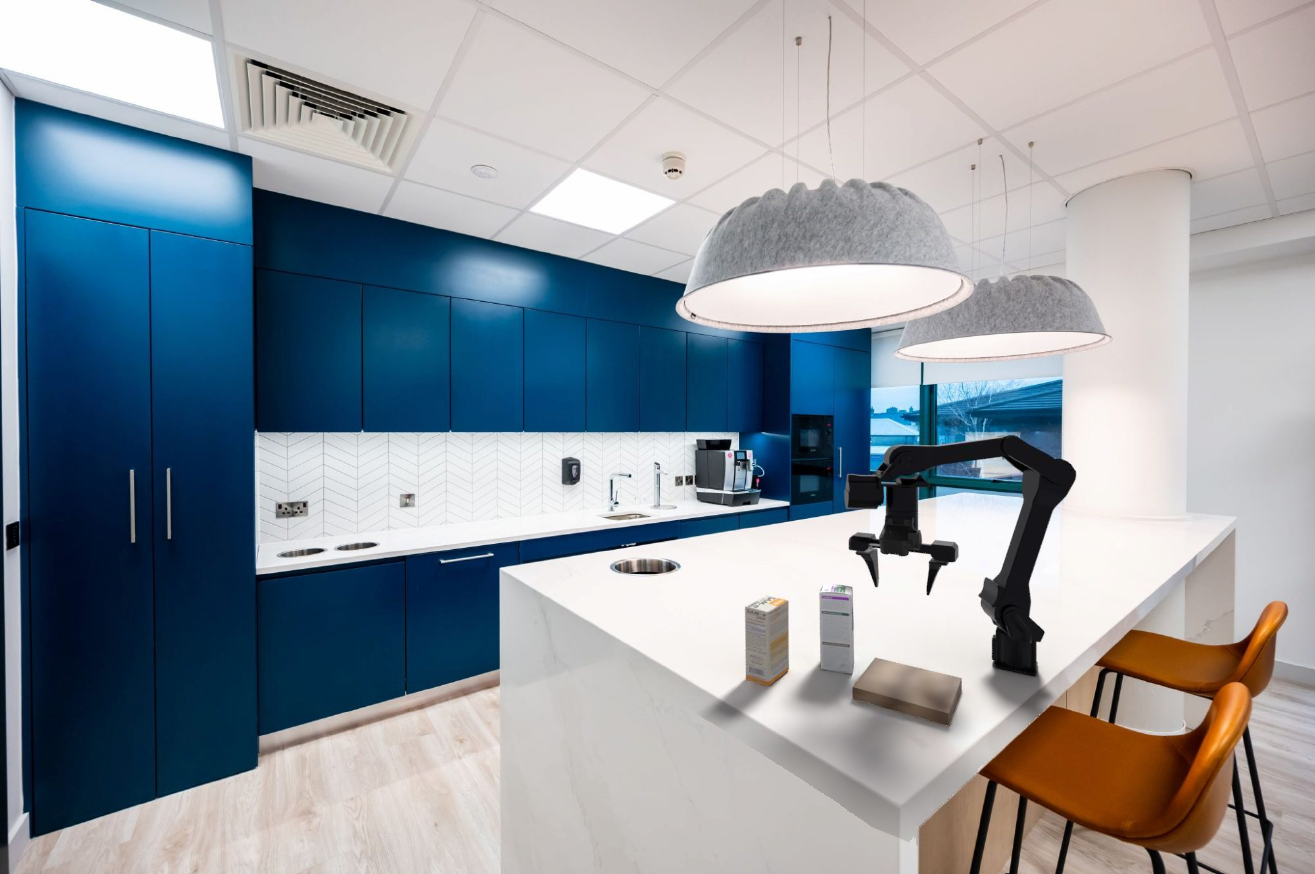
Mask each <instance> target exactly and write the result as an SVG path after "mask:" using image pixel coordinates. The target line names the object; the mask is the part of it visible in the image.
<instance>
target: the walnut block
mask: <svg viewBox="0 0 1315 874" xmlns="http://www.w3.org/2000/svg"><path fill="white" fill-rule="evenodd" d="M962 679H963V678H962V677H960V676H959V677H958V676H954V675H950V674H946V673H942V672H938V671H933V670H930V669H924V668H923V667H922V668H921V667H918V666H917V667H916V666H913V665H909V664H904V663H900V662H896V661H892V660H888V659H884V658H879V657H874V659H873V660H872V661H871V662H870V663H869V665H868V666H867V667H866V669H864V671H863V673H862V674H861V675H860V676H859V677H858V679H857V680H856V681H855V683H854V684H853V685H852V688H851V689H852V690H851V695H852V698H851V699H852V700H855V701H858V702H862V703H865V704H866V703H867V704H869V705H873V706H876V707H880V708H883V709H886V710H890V711H893V712H897V713H899V714H900V713H901V714H905V715H908V716H911V717H914V718H918V719H922V720H925V721H929V722H933V723H935V724H939V725H942V724H943V726H946V725H947V726H946V727H949V726H950V723H951V720H952V718H953V714H954V712H955V709H956V707H957V704H958V702H959V698H960V696H961V692H962V689H963V685H962V684H963V683H962V682H963V681H962Z"/></svg>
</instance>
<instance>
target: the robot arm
mask: <svg viewBox="0 0 1315 874" xmlns="http://www.w3.org/2000/svg"><path fill="white" fill-rule="evenodd" d="M882 458H883V461H882V463H881V464H879V466H878V468H877V469H876V470H875V472H873V474H872V475H871V474H867V475H866V474H855V473H847V474H846V481H845V489H844V490H843V491H844V493H843V494H844V504H845V505H844V506H845V509H846V510H850V509H851V510H878V508H879V506H880V507H881V506H882V505H884V502H885V516H884V524H883V527H882V530H881V531H880V534H879V536H878V538H877V537H876V534H875V533H869V532H859V531H858V532H856V533H854V534H852V535H851V536H850V537H849V539H848V550H849V551H853V552H854V551H855V555H856V556H861V558H862V559H863V561H864V562H865V564H866V567H867V569H868V572H869V575H870V576H871V580H872V582H873V586H874V587H875V588H878V587H879V584H880V583H879V582H880V581H879V580H880V573H879V569H880V568H879V554H878V553H879V552H878V549H879V551H880V554H883V555H894V556H895V555H896V556H898V557H907V556H909V554H910V553H917V554H922V555H923V554H925V555H930V557H931V558H930V560H929V561H928V570H927V571H928V573H927V578H926V579H927V581H926V586H925V587H926V596H930V595H931V593H932V589H933V587H934V584H935V581H936V578H937V576H938V573H939V571H940V570H941V568H942V567H946V566H948V565H949V563H956V561H958V558H959V550H960V549H959V545H958V544H957V543H956V542H955V541H948V540H939V539H935V540H934V541H933V542H932V543H923V537H922V531H921V529H919V488H930V487H931V484H930V483H929V482H928V481H927V480H926V479H925V478H924V477H923V476H922V474H920V473H922V472H925V471H926V472H927V471H929V470H930V469H934V468H936V467H940V466H943V465H944V466H945V465H949V464H958V463H959V464H960V463H965V462H972V461H974V462H975V461H981V460H987V459H997V458H1003V459H1004V460H1005V461H1007V462H1008V463H1009V464H1010V465H1011V467H1013V468H1015V469H1016V470H1018V471H1019V472H1021V473H1022V478H1021V490H1022V498H1023V499H1022V500H1023V501H1022V506H1021V508H1020V512H1019V514H1018V518H1017V520H1016V524H1015V527H1014V529H1013V533H1012V536H1011V539H1010V542H1009V545H1008V547H1007V552H1006V554H1005V557H1004V560H1003V563H1002V567H1001V569H1000V572H999V573H998V574H997V575H996V576H995V577H994V578H993V579H991V578H989V577H987V576H986V577H984V579H983V584H982V585H983V586H982V589H981V591H980V593H978V597H979V598H980V607H981V609H982V611H983V612H984V613H985V614H986V615H987V616H988V617H989V618H990V619H991V622H992V625H994V626H996V628H995V634H993V635H992V637H991V660H992V661H994V663H993V667H994V668H998V669H1002V670H1007V671H1011V672H1016V673H1021V674H1025V675H1029V674H1030V676H1034V677H1036V676H1035V675H1037V676H1038V666H1039V665H1038V661H1037V660H1038V659H1037V657H1038V651H1037V650H1038V644H1037V643H1041V642H1042V640H1043V638H1044V637H1045V636H1044V635H1045V633H1046V632H1045V630H1044V629H1043V628H1042V627H1041V626H1040V625H1039V624H1038V623H1036V621H1034V620H1033V618H1031V617H1030V614H1031V607H1032V597H1031V589H1030V581H1031V579H1032V575H1033V573H1034V569H1035V566H1036V563H1037V560H1038V558H1039V554H1040V552H1041V548H1042V545H1043V542H1044V539H1045V537H1046V533H1047V530H1048V527H1049V523H1050V521H1051V519H1052V516H1053V513H1054V510H1055V508H1056V507H1057V506H1058V505H1060V503H1062V501H1063V500H1065V499H1066V497H1067V495H1068V494H1069V493H1070V491H1071V489H1072V487H1073V485H1074V483H1075V482H1076V479H1077V471H1076V469H1075V468H1074V466H1073V464H1072V463H1071V462H1069V461H1068V460H1065V459H1063V458H1057V457H1053V456H1051V455H1050V454H1049V453H1047V452H1045V451H1043V450H1042V449H1039V448H1038V447H1035V446H1034V445H1032V444H1029V443H1028V442H1026V441H1025V440H1023V439H1022V438H1020V437H1019V436H1018V435H1014V434H999V435H997V436H995V437H986V438H979V439H972V440H966V441H958V442H950V443H943V444H937V445H936V444H935V445H923V444H922V445H921V444H894V445H892V446H890V447H888V448H887V449H886V451H884V455H883V457H882ZM913 475H914V476H913ZM901 476H903V477H901ZM904 476H906V477H904ZM908 476H913V477H908ZM895 480H896V481H895ZM894 481H895V482H894Z"/></svg>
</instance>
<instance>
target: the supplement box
mask: <svg viewBox="0 0 1315 874" xmlns="http://www.w3.org/2000/svg"><path fill="white" fill-rule="evenodd" d="M789 602H790V601H789V599H786V598H781V597H776V596H772V595H765V596H763V597H761V598H758V599H757V600H756V601H755V600H754V601H753V602H752V603H749V604H747V605H746V606H744V623H745V625H744V626H745V627H744V628H745V630H744V631H745V635H744V636H745V638H744V639H745V642H744V643H745V645H744V646H745V650H744V652H745V679H746V680H748V681H751V682H755V683H757V684H761V685H763V686H766V687H769V686H771V685H772V684H773V683H775V682H776V681H777V680H778V679H779V678H781V677H782V676H783V675H785V674H786V673H787V672H788V671H789V670H790V654H789V653H790V651H789V650H790V648H789V647H790V643H789V640H790V639H789V637H790V636H789V635H790V634H789V633H790V632H789V630H790V629H789V628H790V627H789V624H790V623H789V616H790V615H789V609H790V608H789V605H790V604H789Z"/></svg>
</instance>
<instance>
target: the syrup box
mask: <svg viewBox="0 0 1315 874" xmlns="http://www.w3.org/2000/svg"><path fill="white" fill-rule="evenodd" d="M853 589H854V588H853V586H850V585H843V584H835V583H833V584H830V583H829V584H826V583H823V584H822V585H821V588H820V589H819V593H818V594H819V595H818V597H819V599H818V600H819V642H820V643H819V648H820V649H819V650H820V651H819V652H820V669H821V670H824V671H829V672H836V673H840V674H841V673H842V674H850V675H853V672H854V669H855V667H854V666H855V632H854V631H855V628H854V627H855V623H854V621H855V620H854V619H855V618H854V590H853Z"/></svg>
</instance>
